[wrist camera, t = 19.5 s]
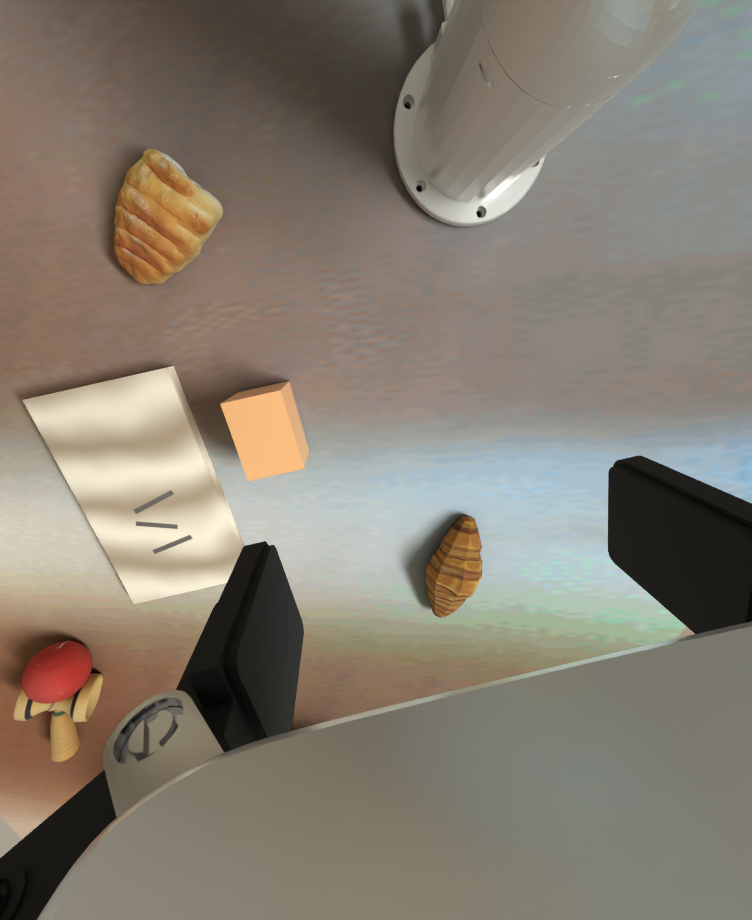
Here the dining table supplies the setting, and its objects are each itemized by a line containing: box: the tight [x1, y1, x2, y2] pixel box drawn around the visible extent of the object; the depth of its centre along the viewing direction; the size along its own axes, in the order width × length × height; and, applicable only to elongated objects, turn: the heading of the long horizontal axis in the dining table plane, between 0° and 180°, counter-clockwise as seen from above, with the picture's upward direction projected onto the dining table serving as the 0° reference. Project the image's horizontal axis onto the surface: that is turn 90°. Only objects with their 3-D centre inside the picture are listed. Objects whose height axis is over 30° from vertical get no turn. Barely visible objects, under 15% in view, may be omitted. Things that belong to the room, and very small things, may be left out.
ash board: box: [23, 366, 244, 604], centre depth 38 cm, size 23×13×2 cm, turn 12°
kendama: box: [14, 640, 103, 762], centre depth 44 cm, size 8×6×18 cm
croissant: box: [425, 515, 482, 617], centre depth 43 cm, size 14×7×5 cm, turn 169°
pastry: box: [114, 148, 223, 284], centre depth 30 cm, size 9×7×4 cm
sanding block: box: [220, 380, 309, 481], centre depth 34 cm, size 7×5×6 cm
